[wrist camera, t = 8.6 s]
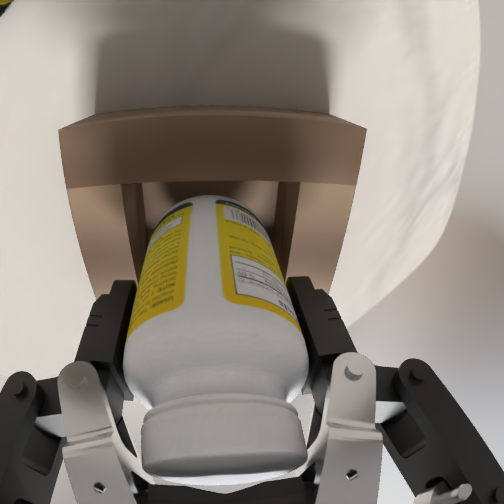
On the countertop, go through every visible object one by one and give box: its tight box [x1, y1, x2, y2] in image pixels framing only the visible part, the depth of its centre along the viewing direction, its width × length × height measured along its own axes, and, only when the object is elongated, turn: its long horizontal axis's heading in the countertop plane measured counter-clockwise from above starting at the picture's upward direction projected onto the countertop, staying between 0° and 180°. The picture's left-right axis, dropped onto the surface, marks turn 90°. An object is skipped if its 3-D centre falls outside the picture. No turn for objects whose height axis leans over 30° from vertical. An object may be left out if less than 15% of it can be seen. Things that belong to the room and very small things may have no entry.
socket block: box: [58, 106, 367, 300], centre depth 14 cm, size 12×12×4 cm
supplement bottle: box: [123, 195, 309, 485], centre depth 9 cm, size 5×5×10 cm
